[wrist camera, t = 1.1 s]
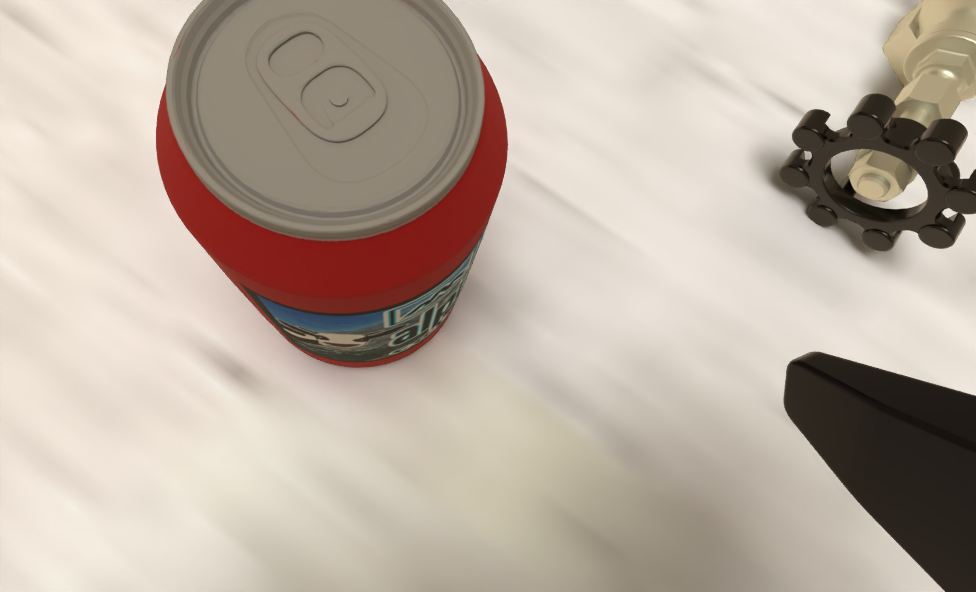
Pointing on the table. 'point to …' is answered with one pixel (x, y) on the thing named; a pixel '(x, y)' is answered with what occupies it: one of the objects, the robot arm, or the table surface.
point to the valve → (900, 135)
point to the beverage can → (334, 163)
